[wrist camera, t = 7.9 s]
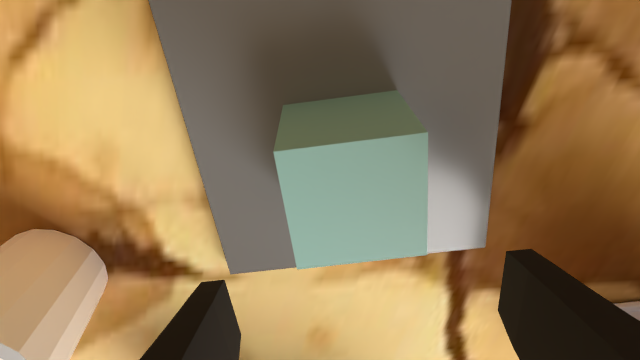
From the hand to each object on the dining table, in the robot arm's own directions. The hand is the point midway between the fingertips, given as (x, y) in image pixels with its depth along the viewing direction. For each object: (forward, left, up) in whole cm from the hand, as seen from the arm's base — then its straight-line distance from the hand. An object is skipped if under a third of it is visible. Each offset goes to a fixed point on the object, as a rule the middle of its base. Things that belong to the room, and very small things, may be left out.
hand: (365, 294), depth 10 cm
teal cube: (0, 0, -9) cm, 9 cm away
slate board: (0, 0, -10) cm, 10 cm away
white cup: (+17, +6, -10) cm, 20 cm away
